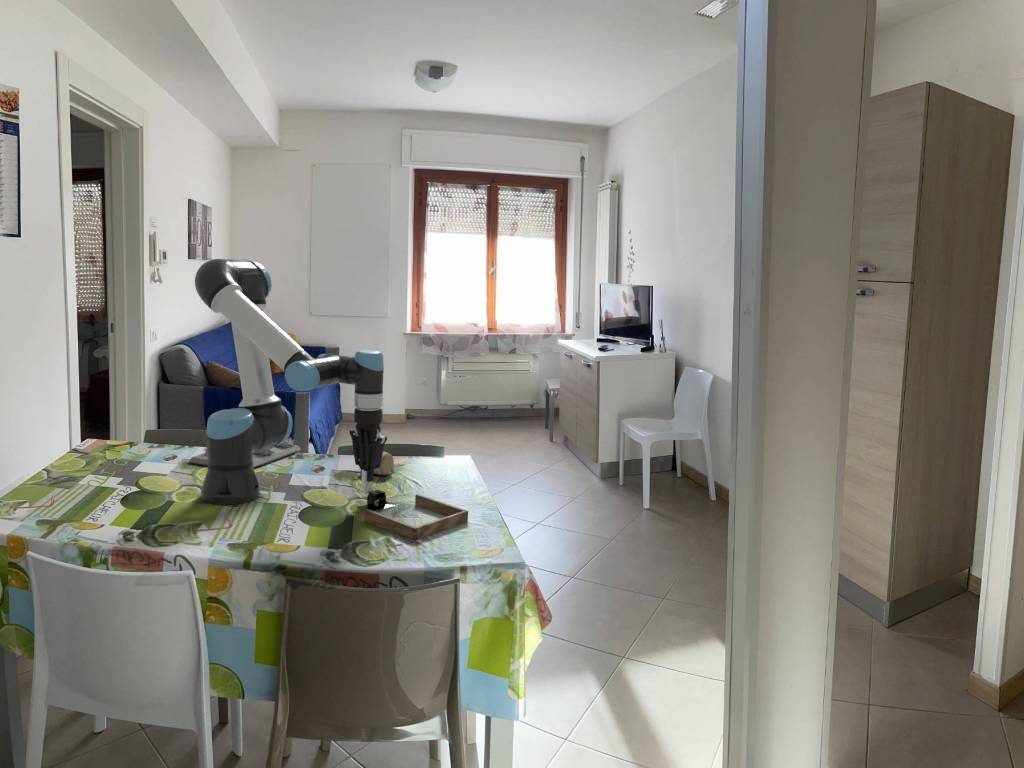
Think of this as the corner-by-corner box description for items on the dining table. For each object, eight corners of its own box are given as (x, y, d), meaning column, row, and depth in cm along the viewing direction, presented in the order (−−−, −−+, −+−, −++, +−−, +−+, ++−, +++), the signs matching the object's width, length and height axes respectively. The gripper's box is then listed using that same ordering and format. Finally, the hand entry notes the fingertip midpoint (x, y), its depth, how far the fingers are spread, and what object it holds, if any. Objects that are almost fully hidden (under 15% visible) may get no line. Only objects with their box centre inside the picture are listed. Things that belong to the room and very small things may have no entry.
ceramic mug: (381, 478, 227) (382, 454, 226) (359, 474, 231) (360, 449, 230) (400, 471, 237) (401, 447, 236) (379, 467, 240) (380, 443, 239)
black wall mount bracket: (365, 516, 195) (366, 499, 195) (349, 509, 200) (349, 493, 199) (402, 506, 205) (402, 490, 204) (385, 499, 209) (386, 484, 209)
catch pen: (414, 540, 179) (415, 528, 179) (363, 520, 191) (364, 509, 190) (467, 521, 194) (468, 510, 193) (417, 504, 205) (417, 494, 205)
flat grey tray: (250, 444, 260) (250, 424, 259) (302, 452, 253) (302, 432, 252) (187, 464, 232) (186, 442, 231) (244, 474, 225) (244, 452, 224)
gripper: (395, 410, 199) (393, 494, 203) (363, 402, 207) (361, 484, 211) (374, 413, 193) (372, 500, 197) (341, 405, 201) (340, 489, 205)
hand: (366, 492), depth 204 cm, fingers closed
